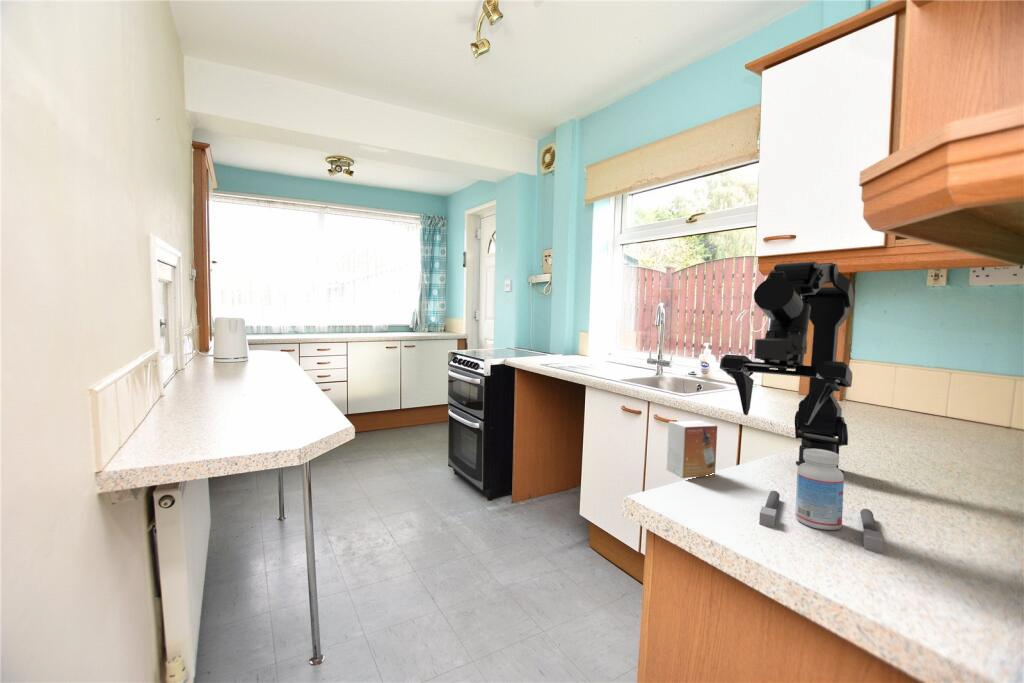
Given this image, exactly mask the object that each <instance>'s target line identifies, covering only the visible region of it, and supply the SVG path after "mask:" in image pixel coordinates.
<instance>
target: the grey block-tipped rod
mask: <svg viewBox="0 0 1024 683" xmlns="http://www.w3.org/2000/svg"><path fill="white" fill-rule="evenodd" d="M779 501H780V493H779V491H776V490H770V492H769V494H768V497H767V499H766V502H765V505H764V506H761V509H760V511H759V521H758V522H759V525H762V526H766V527H770V528H775V526H776V520H777V519H776V518H777V508H778V504H779Z"/></svg>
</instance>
